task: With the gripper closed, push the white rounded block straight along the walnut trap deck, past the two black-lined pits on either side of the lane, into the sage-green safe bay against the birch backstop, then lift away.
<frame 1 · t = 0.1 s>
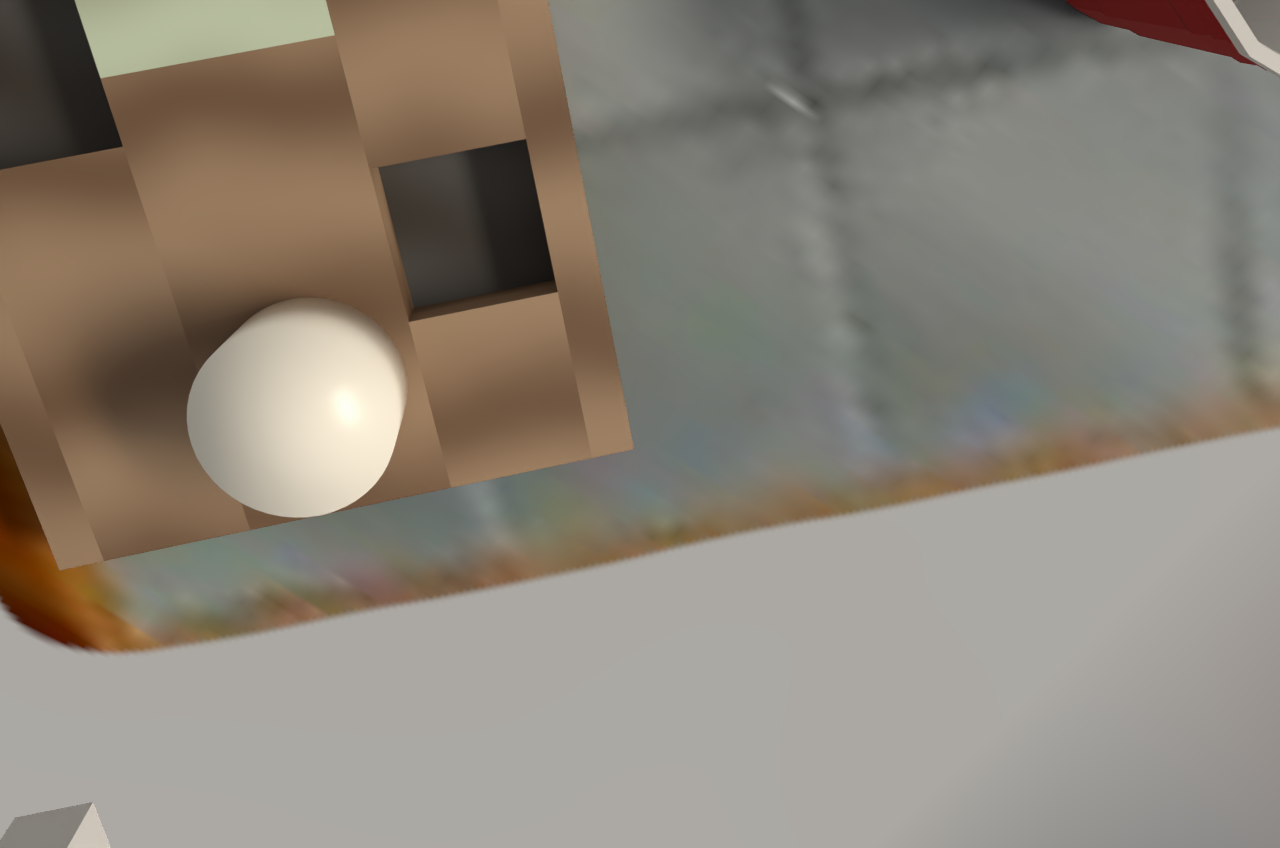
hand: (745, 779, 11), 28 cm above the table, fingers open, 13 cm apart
white rounded block: (315, 386, 35), point 2 cm above the table, touching trap deck
trap deck: (265, 152, 35), on the table
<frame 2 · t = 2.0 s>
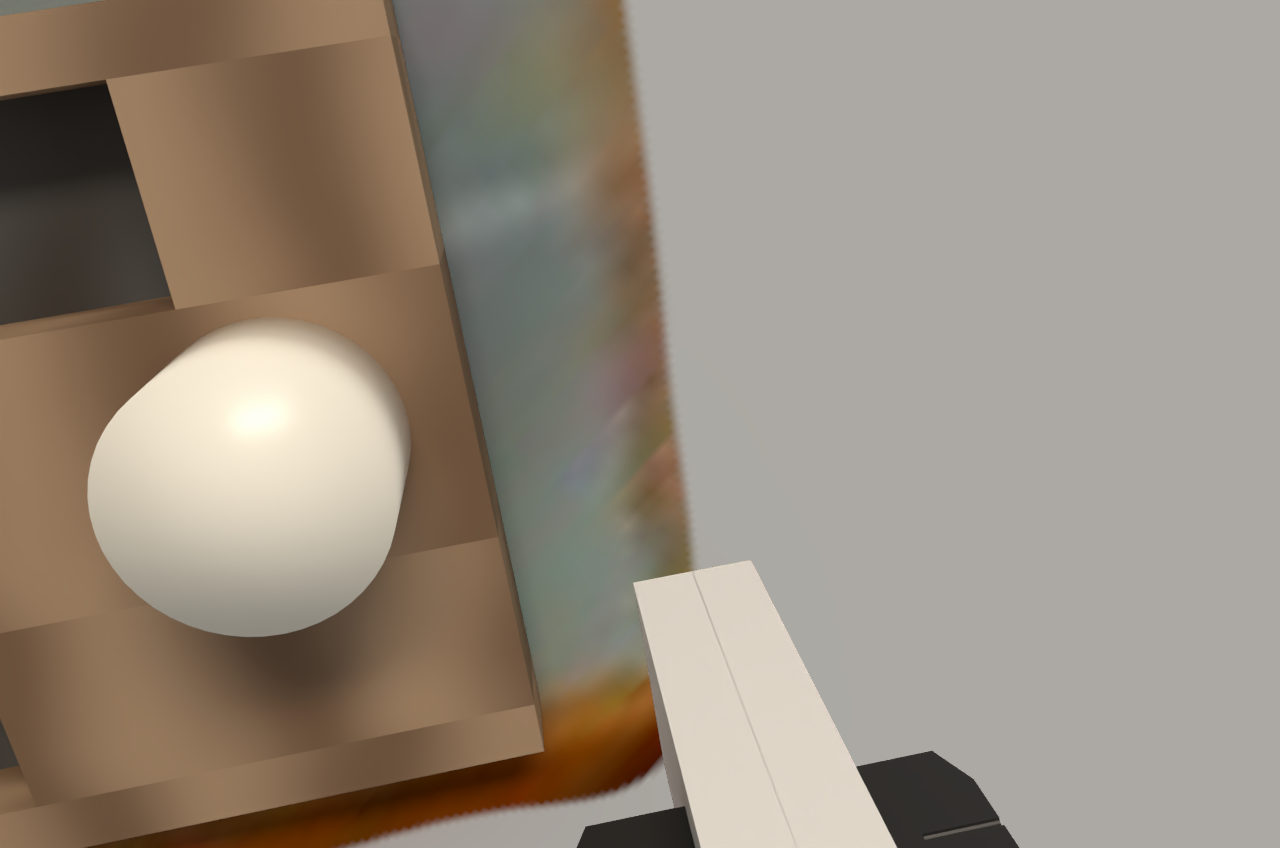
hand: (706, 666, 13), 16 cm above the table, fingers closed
white rounded block: (282, 440, 25), point 2 cm above the table, touching trap deck
trap deck: (4, 463, 27), on the table
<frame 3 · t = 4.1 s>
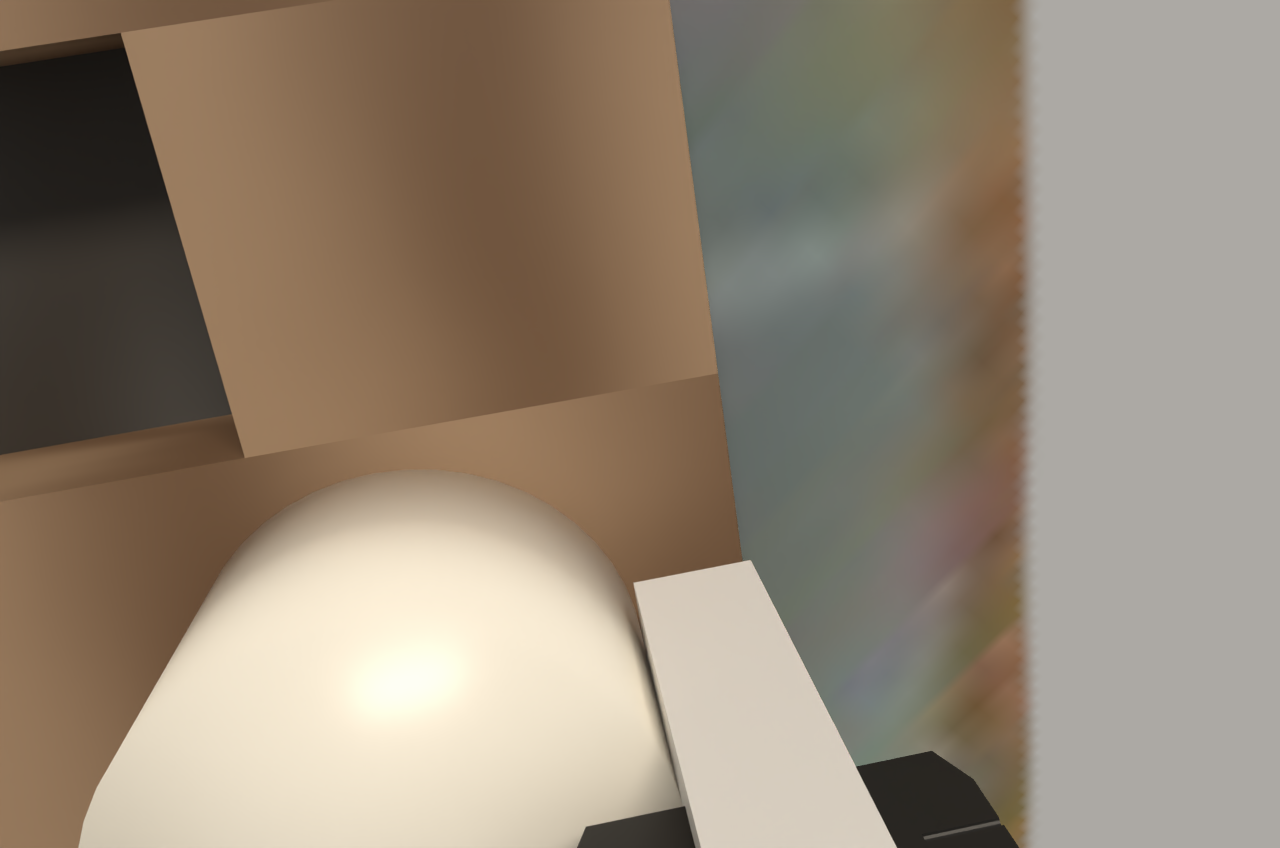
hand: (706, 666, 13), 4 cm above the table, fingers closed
white rounded block: (424, 676, 14), point 2 cm above the table, touching gripper, trap deck
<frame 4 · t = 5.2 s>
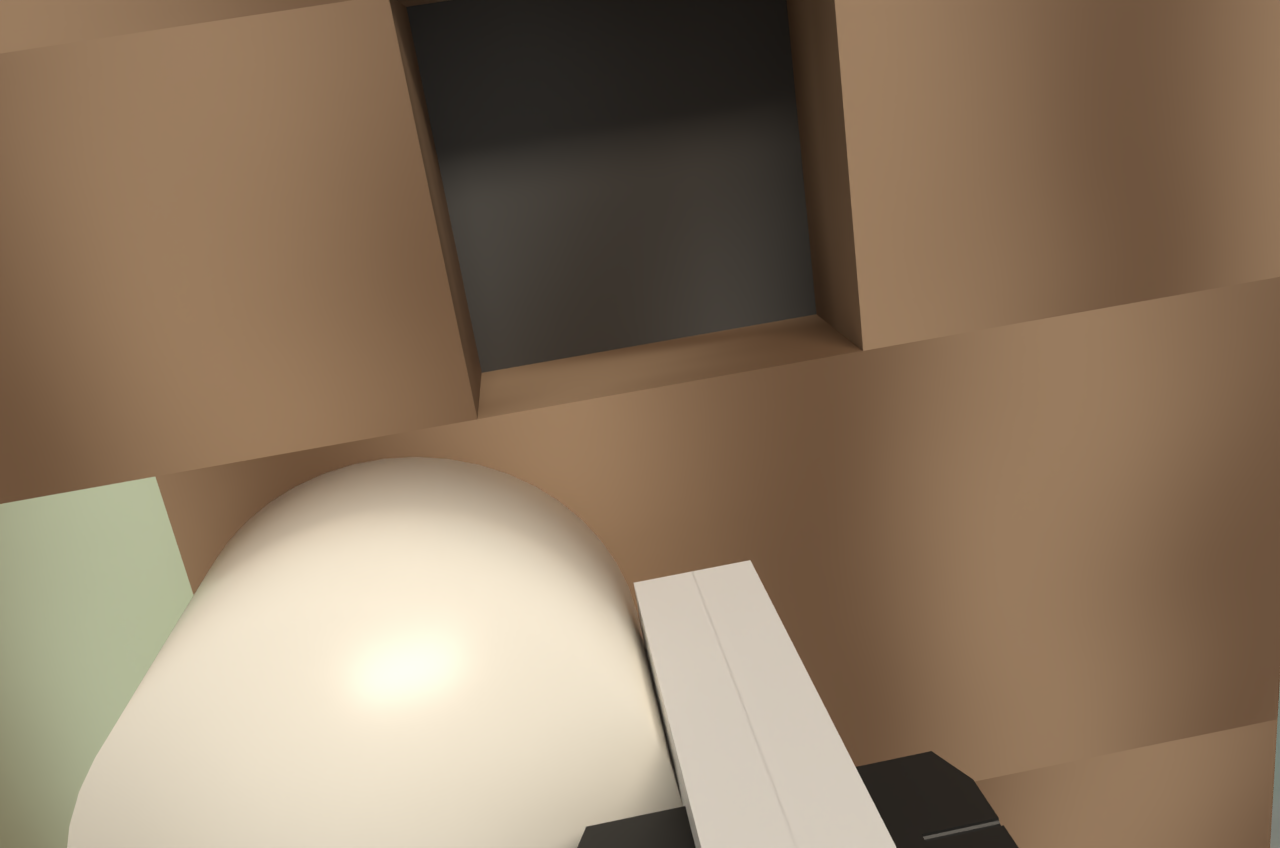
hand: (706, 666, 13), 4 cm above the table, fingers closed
white rounded block: (420, 666, 14), point 3 cm above the table, touching gripper
trap deck: (462, 589, 17), on the table
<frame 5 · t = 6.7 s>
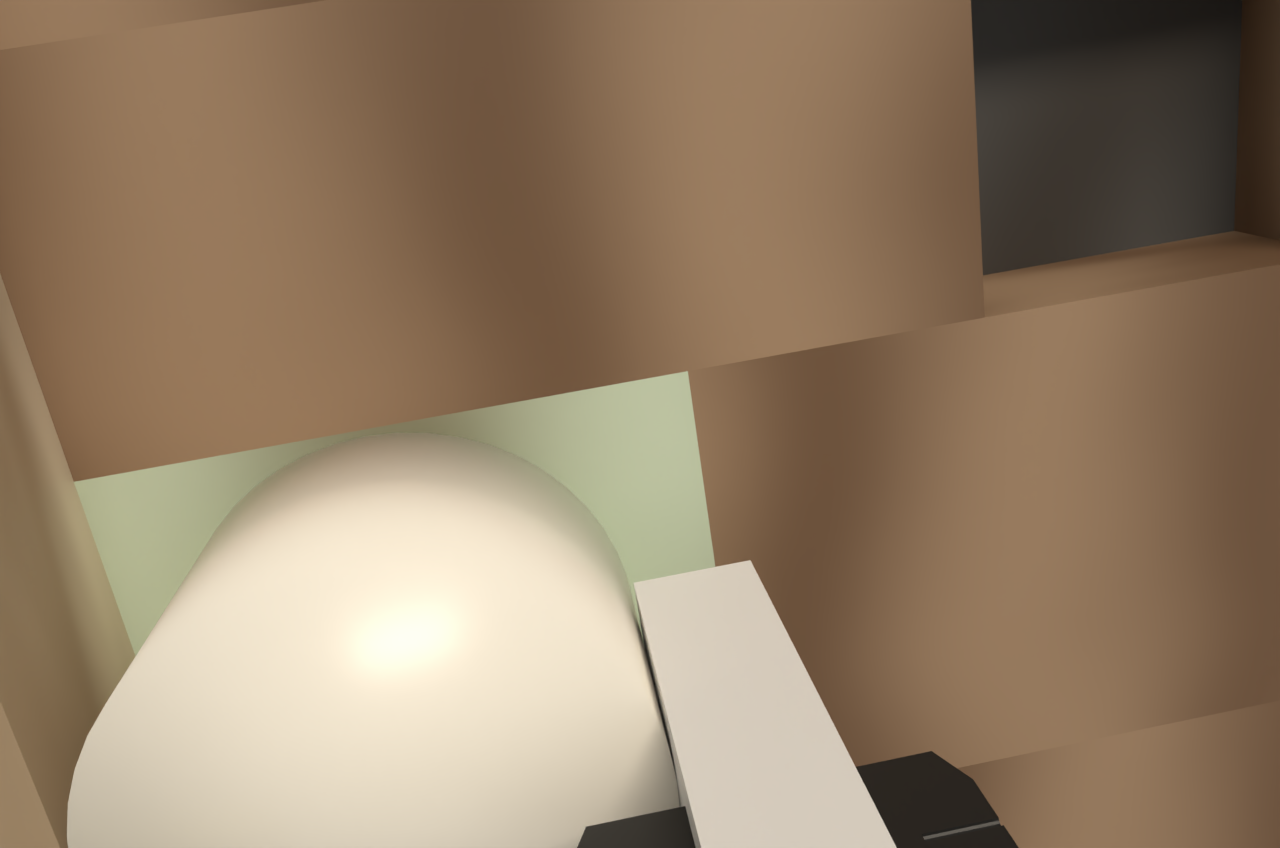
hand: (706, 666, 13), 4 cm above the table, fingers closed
white rounded block: (416, 641, 14), point 2 cm above the table, touching gripper, trap deck
trap deck: (870, 501, 17), on the table
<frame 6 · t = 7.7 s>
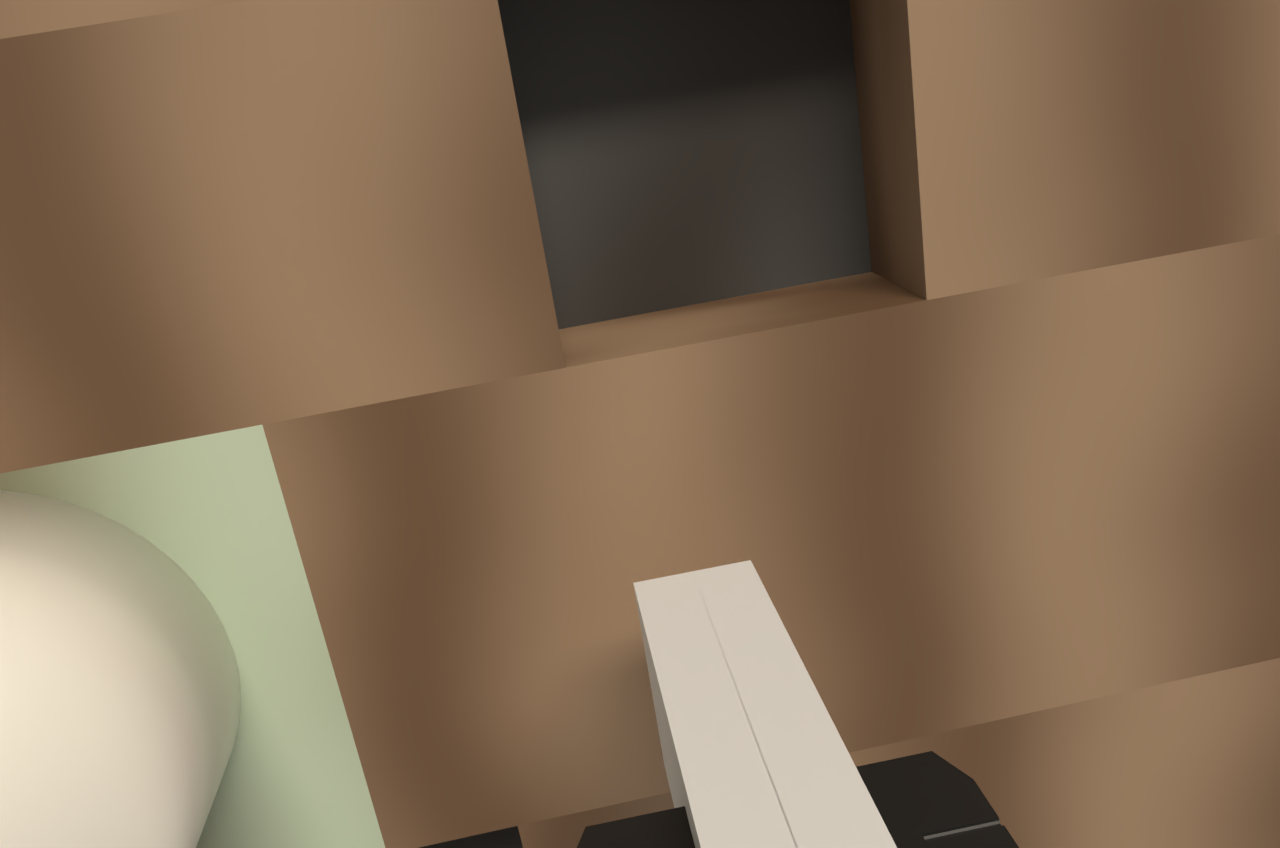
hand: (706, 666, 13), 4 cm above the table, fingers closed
white rounded block: (10, 694, 14), point 3 cm above the table, touching trap deck
trap deck: (533, 540, 17), on the table
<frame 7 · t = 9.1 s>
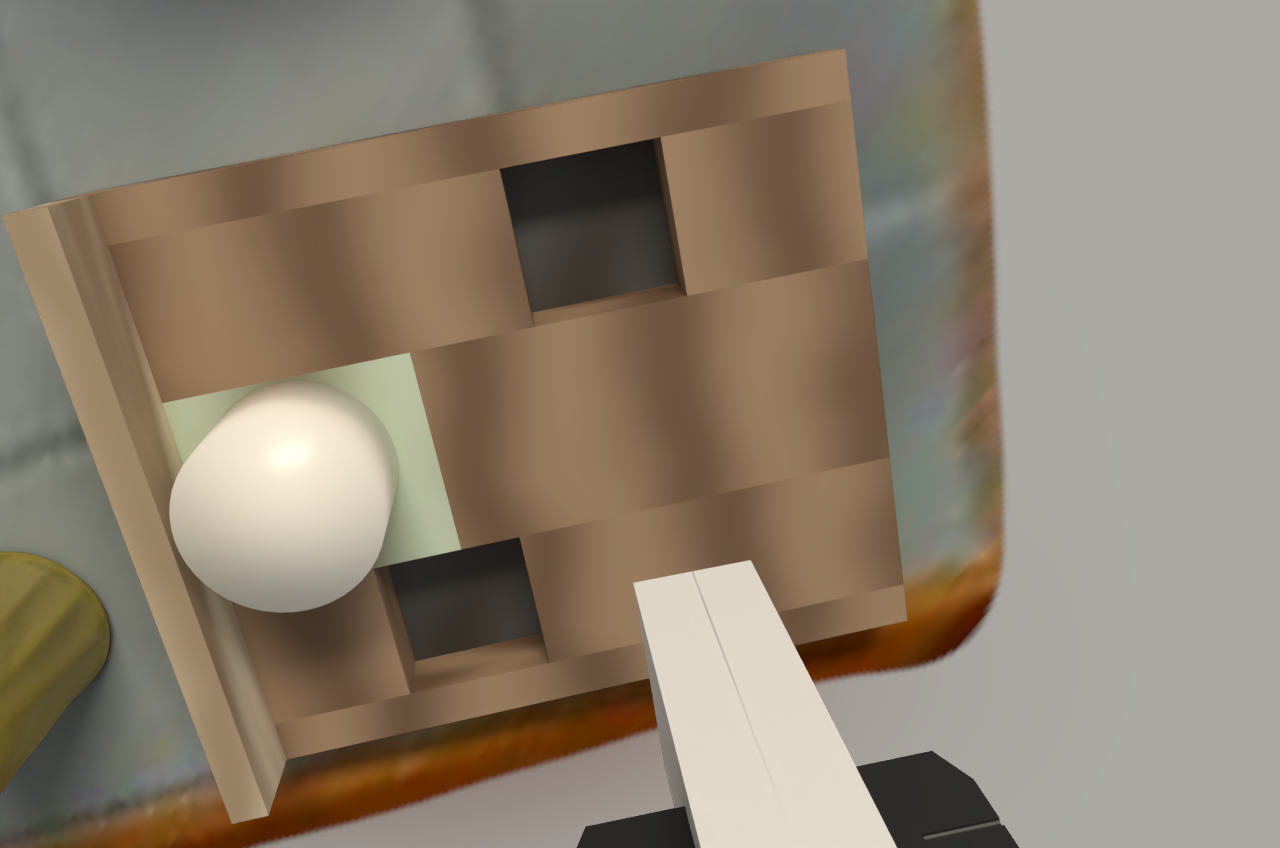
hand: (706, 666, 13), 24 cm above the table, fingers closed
white rounded block: (303, 469, 34), point 3 cm above the table, touching trap deck
vase: (23, 625, 38), on the table
trap deck: (525, 412, 37), on the table
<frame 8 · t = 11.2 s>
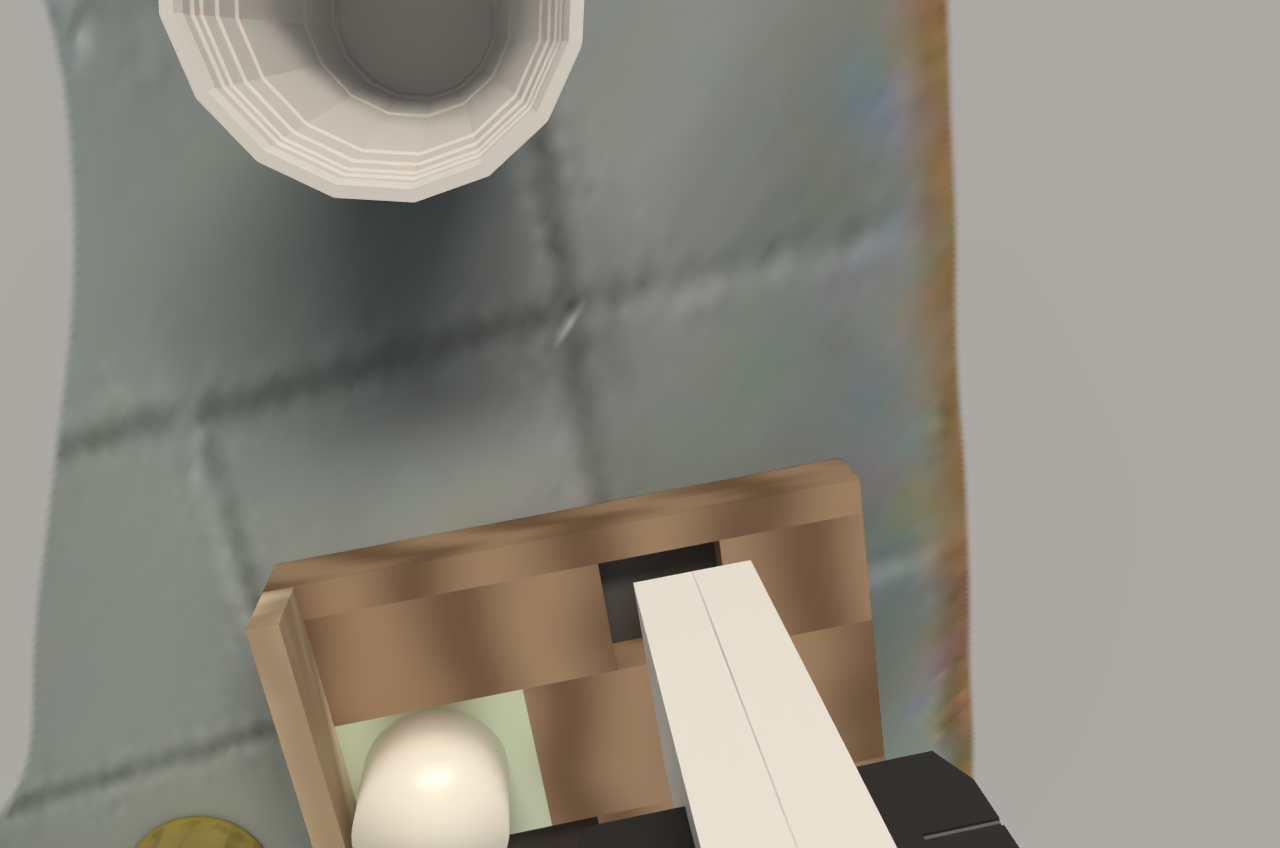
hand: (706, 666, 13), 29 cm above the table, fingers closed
plastic cup: (411, 11, 38), on the table
white rounded block: (436, 771, 45), point 3 cm above the table, touching trap deck
trap deck: (601, 711, 48), on the table
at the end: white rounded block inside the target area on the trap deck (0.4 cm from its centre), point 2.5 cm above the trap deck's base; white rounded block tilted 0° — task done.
